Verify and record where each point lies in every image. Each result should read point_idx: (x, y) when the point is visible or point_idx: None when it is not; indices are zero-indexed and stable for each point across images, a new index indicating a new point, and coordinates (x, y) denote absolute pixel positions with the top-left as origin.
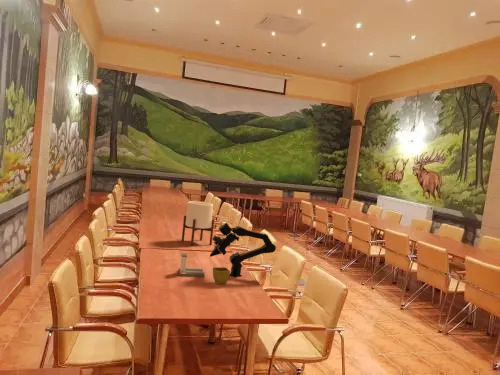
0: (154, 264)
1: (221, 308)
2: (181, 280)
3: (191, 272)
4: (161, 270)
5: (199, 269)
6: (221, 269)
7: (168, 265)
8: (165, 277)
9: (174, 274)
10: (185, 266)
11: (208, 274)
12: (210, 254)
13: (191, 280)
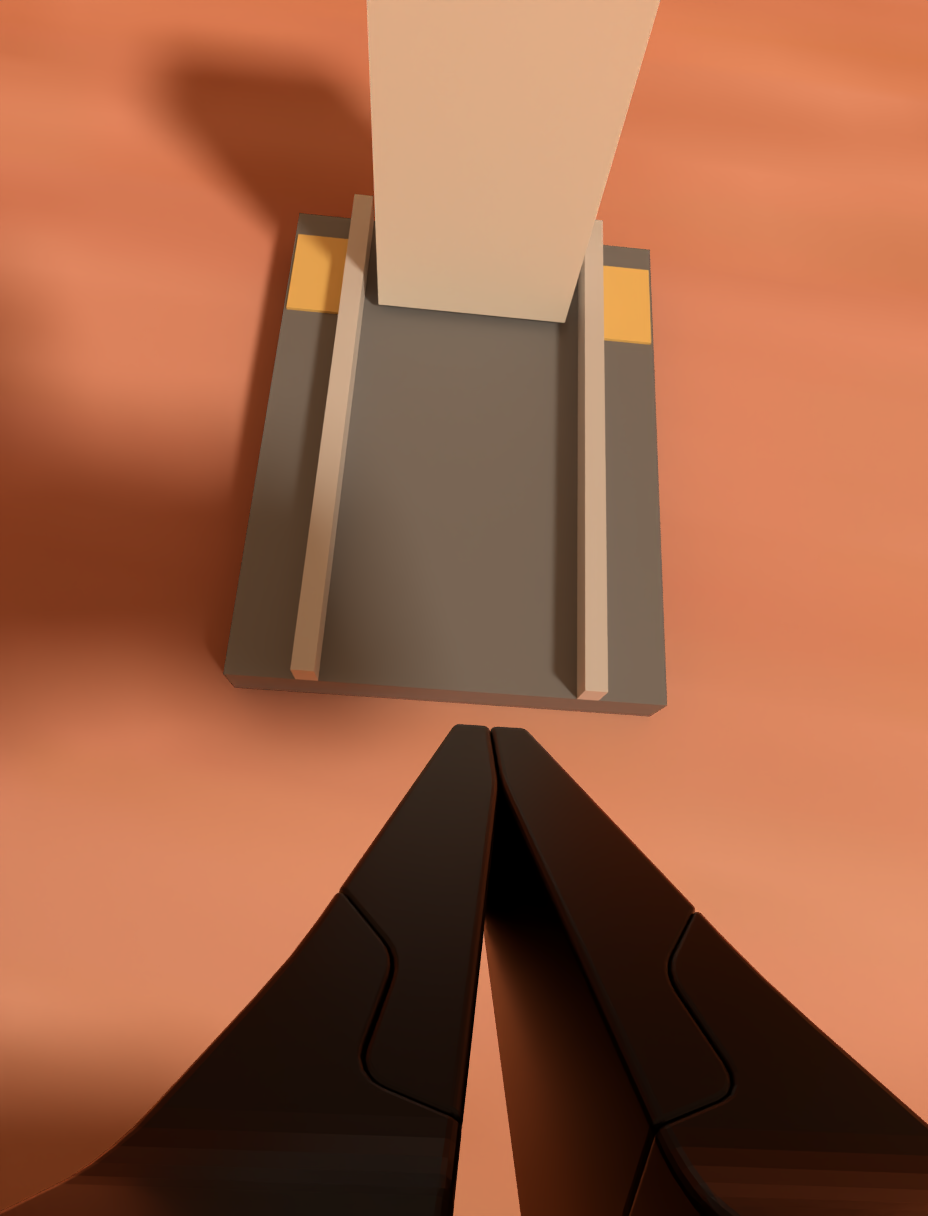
0: (913, 36)
1: None
2: (27, 233)
3: (328, 403)
4: None
5: (580, 614)
6: None
7: (925, 196)
8: (219, 58)
9: None
10: (376, 204)
11: None
12: (480, 751)
13: (3, 388)
